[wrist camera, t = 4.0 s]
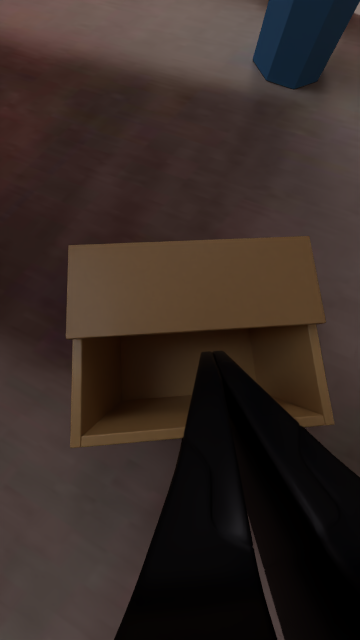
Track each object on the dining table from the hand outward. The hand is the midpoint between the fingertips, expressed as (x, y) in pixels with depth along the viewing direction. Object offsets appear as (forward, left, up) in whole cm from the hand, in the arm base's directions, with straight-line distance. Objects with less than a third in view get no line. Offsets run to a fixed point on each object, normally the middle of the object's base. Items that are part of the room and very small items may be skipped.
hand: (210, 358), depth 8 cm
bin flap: (+2, +3, -2) cm, 4 cm away
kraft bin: (+1, +1, -11) cm, 12 cm away
